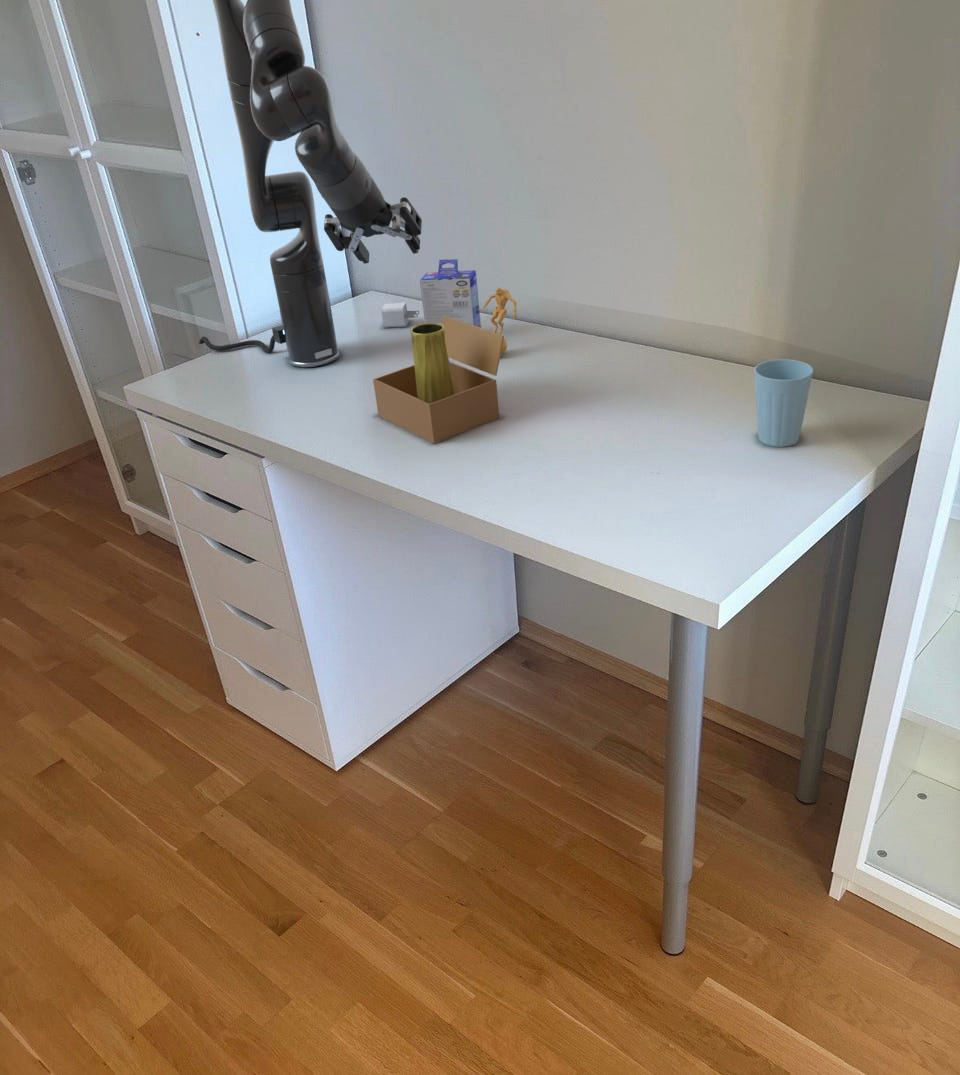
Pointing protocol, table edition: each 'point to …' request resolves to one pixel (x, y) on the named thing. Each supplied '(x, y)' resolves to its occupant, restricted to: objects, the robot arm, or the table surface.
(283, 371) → the table surface
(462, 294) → the ink cartridge box
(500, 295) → the figurine
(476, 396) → the carton
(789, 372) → the cup
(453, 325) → the flap
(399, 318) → the usb wall charger
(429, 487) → the table surface
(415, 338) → the vase
